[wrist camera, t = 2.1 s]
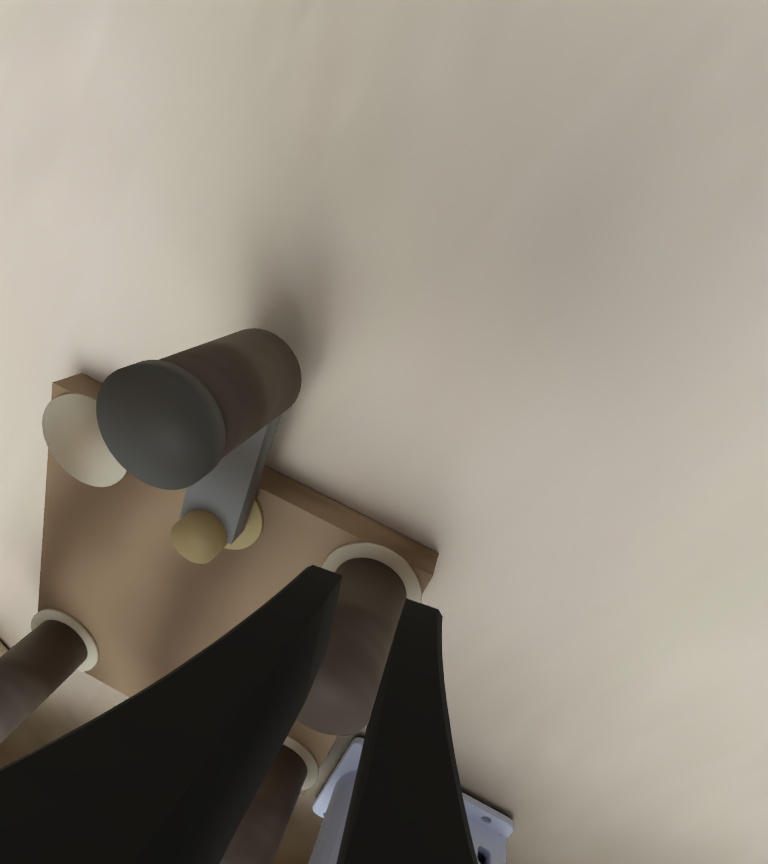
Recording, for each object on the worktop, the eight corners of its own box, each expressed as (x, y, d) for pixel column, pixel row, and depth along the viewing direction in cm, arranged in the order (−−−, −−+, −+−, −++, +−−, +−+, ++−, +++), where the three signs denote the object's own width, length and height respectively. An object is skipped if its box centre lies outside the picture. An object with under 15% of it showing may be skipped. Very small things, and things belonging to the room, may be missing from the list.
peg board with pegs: (444, 552, 21) (410, 692, 14) (315, 771, 29) (258, 921, 22) (77, 367, 22) (-100, 421, 16) (54, 626, 30) (-68, 730, 24)
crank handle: (248, 552, 21) (161, 655, 16) (180, 517, 21) (73, 606, 16) (316, 351, 16) (225, 403, 11) (228, 309, 17) (103, 342, 12)
